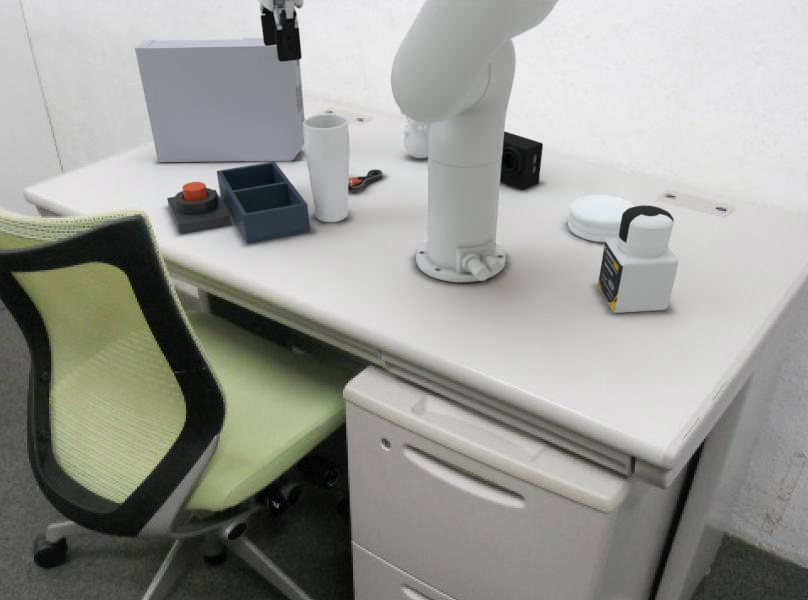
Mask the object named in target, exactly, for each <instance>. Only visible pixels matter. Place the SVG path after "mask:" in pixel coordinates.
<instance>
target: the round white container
mask: <svg viewBox="0 0 808 600" xmlns="http://www.w3.org/2000/svg"><path fill="white" fill-rule="evenodd" d="M635 206H636V204H635V203H633V202H632V201H630V200H628V199H625V198H623V197H620V196H615V195H610V194H589V195H584V196H581V197H579V198H577V199H575V200H574V201H573V202H572V203H571V204H570V206H569V214H568V221H567V226H568V229H569V231H570V232H572V233H573V234H574V235H575V236H577V237H579V238H581V239H584V240H587V241H592V242H597V243H605V240H606V239H607V238H618V235H619V230H620V224H621V218H622V214H623V213H624V212H625V211H626V210H627V209H629V208H631V207H635Z"/></svg>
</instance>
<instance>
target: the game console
mask: <svg viewBox="0 0 808 600" xmlns="http://www.w3.org/2000/svg"><path fill="white" fill-rule="evenodd" d="M134 51H135V56H136V60H137V65H138V71H139V75H140V81H141V86H142V91H143V94H144V99H145V105H146V109H147V110H146V111H147V115H148V118H149V124H150V128H151V133H152V134H151V135H152V138H153V139H152V140H153V143H154V147H155V148H154V149H155V153H156V158H157V162H158V163H194V162H195V163H197V162H199V163H202V162H203V163H205V162H211V163H212V162H285V161H286V162H287V161H289V162H293V161H294V159H295V158H296V157H297V155H299V153H300V152H301V151H302V149H304V136H303V122H304V120H306V118H305V108H304V95H303V83H302V72H301V71H302V70H301V59H300V60H292V61H284V62H280V61H279V60H278V55H277V46H276V45H271V46H266V45H265V44H264V41H263V37H243V38H241V39H239V38H238V39H236V38H235V39H189V40H185V39H184V40H183V39H181V40H156V39H146V40H143V41H141V42H140V43H139V44H137V45H136V46H135V47H134Z"/></svg>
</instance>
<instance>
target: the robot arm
mask: <svg viewBox="0 0 808 600" xmlns="http://www.w3.org/2000/svg"><path fill="white" fill-rule="evenodd" d="M257 1H258V2H259V9H260V23H261V31H262V38H263V41H264V44H265V45H266V46H271V45H276V46H277V55H278V60H279V61H280V62H284V61H292V60H300V61H301V59H302V57H303V56H302V47H301V46H302V45H301V34H300V27H299V20H298V13H297V10H296V9H302V8H303V7H304V1H305V0H257ZM558 2H559V0H425V1H424V2H423V4H422V6H421V8H420V9H419V11H418V13H417V15H416V16H415V18H414V20H413V22H412V23H411V25H410V27H409V29H408V30H407V32H406V34H405V36H404V38H403V40H401V43H400V45H399V46H398V49H397V51H396V53H395V56H394V59H393V61H392V65H391V71H390V87H391V92H392V96H393V99H394V101H395V103H396V105H397V107H398V108H399V110H400V109H401V111H402V112H403V113H404V114H405V115H406V116H408V117H409V118H411V119H413V120H415V121H418V122H421V123H431V126H430V134H429V153H428V157H427V160H428V161H427V162H428V163H427V237H426V238H427V239H426V240H427V241H425V242H424V243H423V244H421V246H420V247H419V248H418V249H417V251H416V254H415V258H416V259H415V262H416V265H417V267H418V268H419V270H420V271H421V272H422V273H424V274H425V275H427V276H429V277H431V278H434V279H436V280H441V281H445V282H450V283H473V282H484V281H486V280H488V279H491V278H493V277H495V276H496V275H498V274H499V273H501V272H502V271H503V269H504V268H505V266H506V260H507V256H506V255H507V254H506V252H505V250H504V248H502V246H501V245H499V244H497V243H496V242H497V230H498V216H499V215H498V214H499V204H500V203H499V201H500V188H501V182H500V175H501V161H502V152H503V139H504V131H505V127H506V119H507V113H508V108H509V103H510V97H511V93H512V90H513V89H512V88H513V84H514V81H515V80H514V79H515V74H516V65H517V63H516V62H517V60H516V50H515V45H514V41H513V39H514V38H516V37H518V36H520V35H522V34H524V33H526V32H528V31H530V30H532V29H534V28H536V27H538V26H539V25H540V24H542V23H543V21H545V19H546V18H547V17H549V15H550V14H551V12H552V11H553V10H554V8H555V6H556V5H557V4H558ZM401 111H400V112H401ZM405 115H404V116H405ZM406 116H405V117H406Z"/></svg>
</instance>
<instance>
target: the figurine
mask: <svg viewBox="0 0 808 600" xmlns="http://www.w3.org/2000/svg"><path fill="white" fill-rule="evenodd" d="M399 111H400V114H401V115H403V116H404V117H405V119H406V121H407V122H406V123H407V124H406V125H405V126H404V127H403V131H402V132H403V134H404V136H403V145H404V148H405V150H406V153H408V154H409V155H410V156H411V157H412V158H415V159H425V158H428V153H429V134H430V126H431V123H421V122H418V121H415V120H413V119H411V118H409V117H408V116H406V115H405V114H404V113H403V112H402V111H401V109H400V108H399Z"/></svg>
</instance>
